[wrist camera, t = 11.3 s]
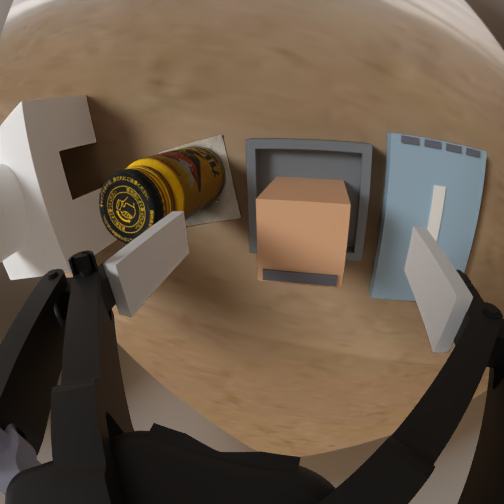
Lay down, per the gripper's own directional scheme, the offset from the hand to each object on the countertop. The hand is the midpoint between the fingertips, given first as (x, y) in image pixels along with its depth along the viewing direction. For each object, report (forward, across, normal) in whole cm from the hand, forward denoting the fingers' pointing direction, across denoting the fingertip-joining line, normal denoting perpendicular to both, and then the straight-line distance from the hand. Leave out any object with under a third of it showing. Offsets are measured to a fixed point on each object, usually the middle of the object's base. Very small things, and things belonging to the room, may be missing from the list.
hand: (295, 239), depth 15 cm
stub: (+11, 0, -2) cm, 11 cm away
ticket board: (+12, +12, -2) cm, 17 cm away
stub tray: (+12, 0, -1) cm, 12 cm away
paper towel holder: (+12, -33, +1) cm, 35 cm away
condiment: (+12, -11, 0) cm, 16 cm away
